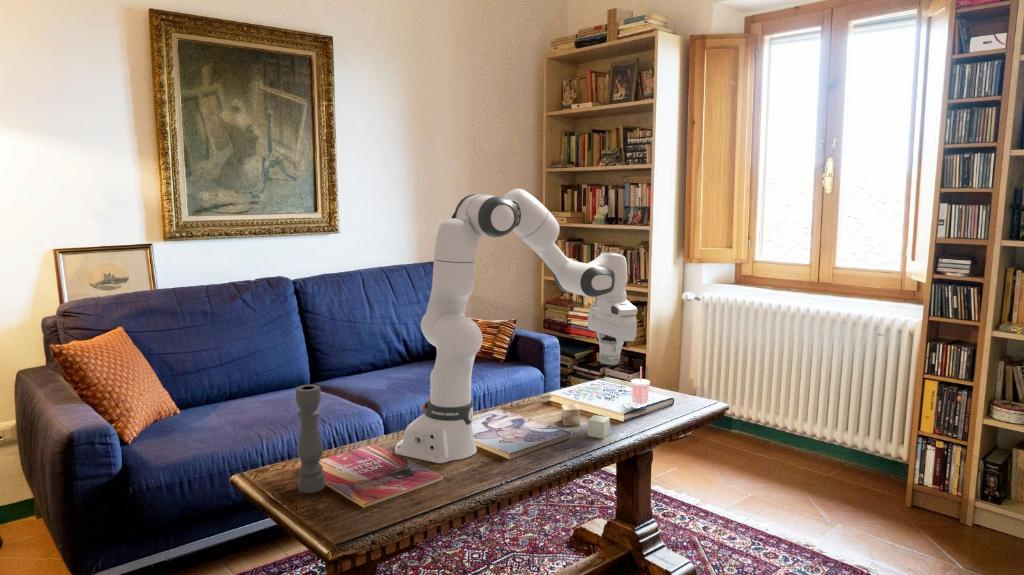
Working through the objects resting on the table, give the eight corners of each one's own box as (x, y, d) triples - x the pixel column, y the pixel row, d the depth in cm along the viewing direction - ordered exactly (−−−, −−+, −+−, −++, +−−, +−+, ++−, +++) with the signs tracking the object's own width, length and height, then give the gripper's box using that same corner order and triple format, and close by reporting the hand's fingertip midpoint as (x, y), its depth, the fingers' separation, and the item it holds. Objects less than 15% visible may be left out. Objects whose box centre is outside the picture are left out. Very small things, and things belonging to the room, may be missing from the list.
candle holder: (304, 481, 178) (300, 383, 174) (328, 482, 178) (325, 384, 174) (294, 492, 172) (290, 391, 168) (319, 493, 172) (315, 392, 168)
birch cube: (563, 425, 221) (564, 409, 220) (561, 420, 225) (561, 404, 225) (579, 425, 221) (580, 409, 220) (577, 419, 226) (577, 404, 225)
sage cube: (587, 436, 212) (588, 419, 211) (593, 430, 216) (593, 414, 215) (603, 439, 210) (604, 422, 209) (609, 433, 214) (609, 417, 213)
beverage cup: (634, 411, 235) (635, 369, 232) (627, 405, 240) (628, 364, 238) (651, 410, 236) (653, 368, 234) (644, 404, 242) (646, 363, 240)
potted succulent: (613, 366, 217) (614, 340, 216) (595, 362, 221) (596, 337, 219) (623, 362, 222) (624, 337, 221) (605, 359, 225) (606, 334, 224)
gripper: (583, 300, 226) (582, 343, 228) (623, 311, 208) (622, 358, 210) (599, 299, 229) (598, 341, 231) (641, 309, 211) (639, 355, 213)
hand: (610, 349), depth 220 cm, fingers closed on potted succulent, 6 cm apart
